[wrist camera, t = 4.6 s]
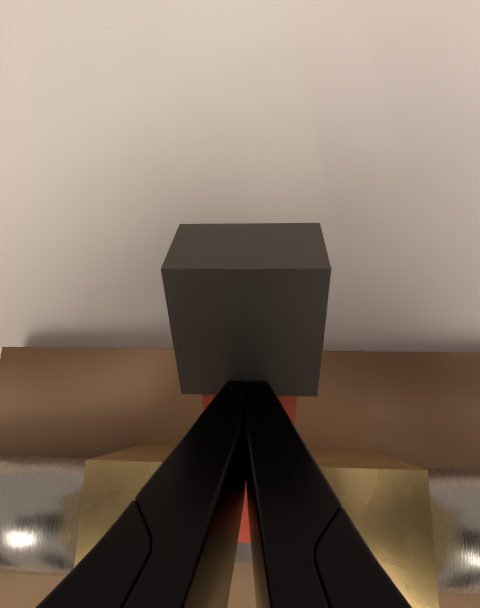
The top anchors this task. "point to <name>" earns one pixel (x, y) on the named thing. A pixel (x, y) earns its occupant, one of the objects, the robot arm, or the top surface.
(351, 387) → the walnut board
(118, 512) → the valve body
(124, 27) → the top surface
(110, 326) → the top surface
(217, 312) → the lever
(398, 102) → the top surface
